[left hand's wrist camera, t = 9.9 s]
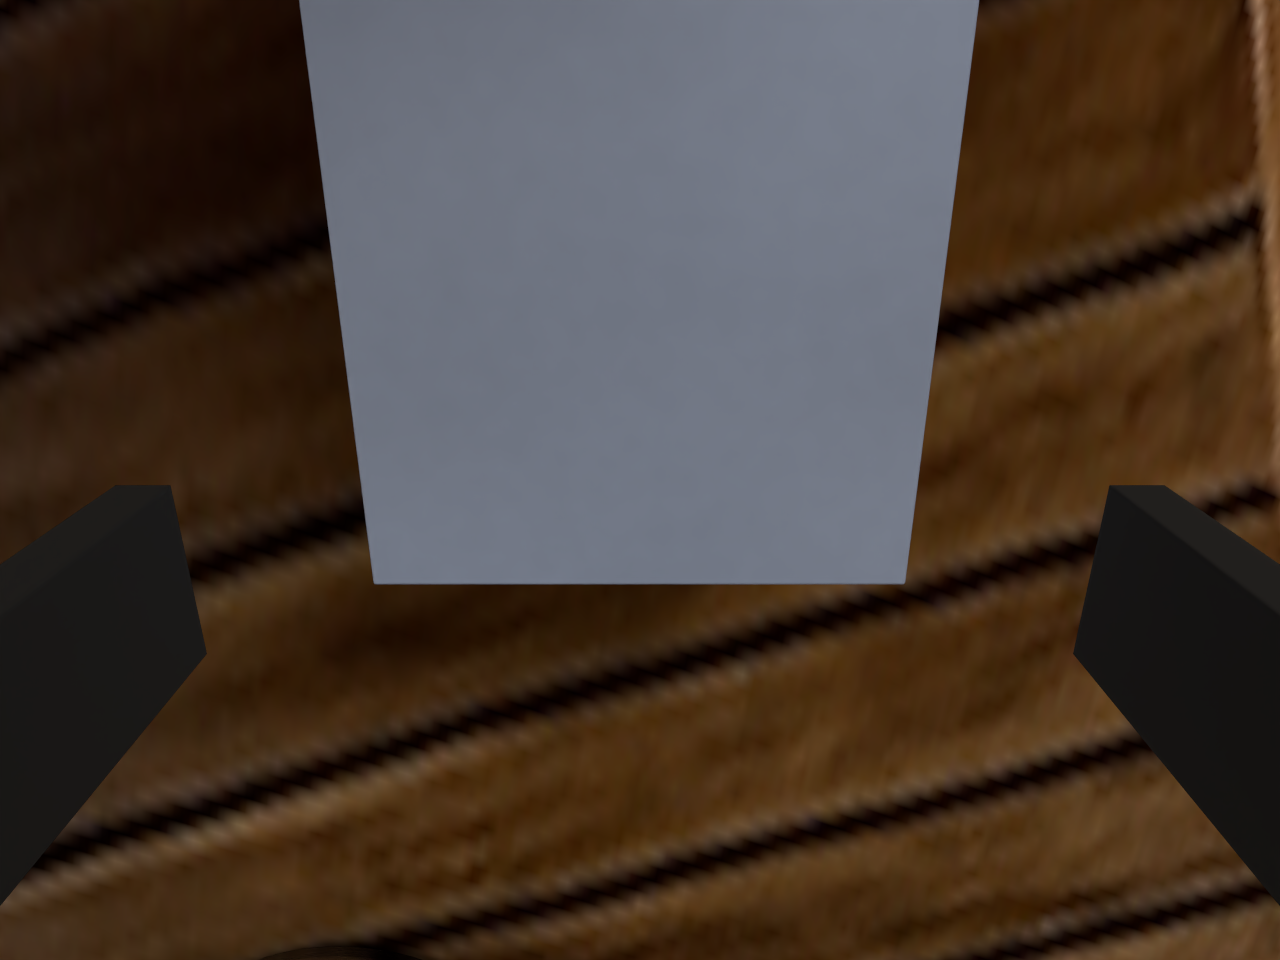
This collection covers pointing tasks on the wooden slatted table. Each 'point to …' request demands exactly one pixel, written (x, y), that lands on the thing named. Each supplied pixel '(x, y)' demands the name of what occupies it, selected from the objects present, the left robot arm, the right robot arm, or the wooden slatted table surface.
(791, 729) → the wooden slatted table surface
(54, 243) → the wooden slatted table surface
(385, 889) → the wooden slatted table surface
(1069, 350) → the wooden slatted table surface
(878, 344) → the cabinet
